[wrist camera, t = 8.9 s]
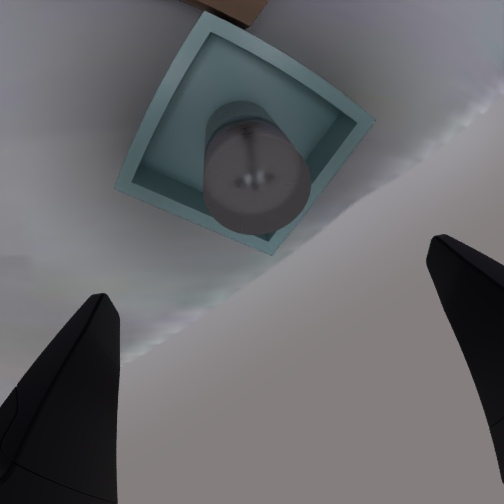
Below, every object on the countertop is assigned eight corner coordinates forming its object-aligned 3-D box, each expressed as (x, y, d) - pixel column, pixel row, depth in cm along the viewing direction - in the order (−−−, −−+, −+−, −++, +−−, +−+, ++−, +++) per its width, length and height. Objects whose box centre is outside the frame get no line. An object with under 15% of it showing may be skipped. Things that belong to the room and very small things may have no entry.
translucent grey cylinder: (227, 88, 15) (238, 116, 9) (287, 121, 17) (331, 171, 11) (193, 147, 17) (184, 210, 11) (251, 175, 19) (273, 248, 13)
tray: (206, 17, 13) (204, 10, 11) (352, 106, 17) (375, 120, 15) (127, 165, 18) (113, 188, 16) (264, 226, 22) (271, 255, 20)
